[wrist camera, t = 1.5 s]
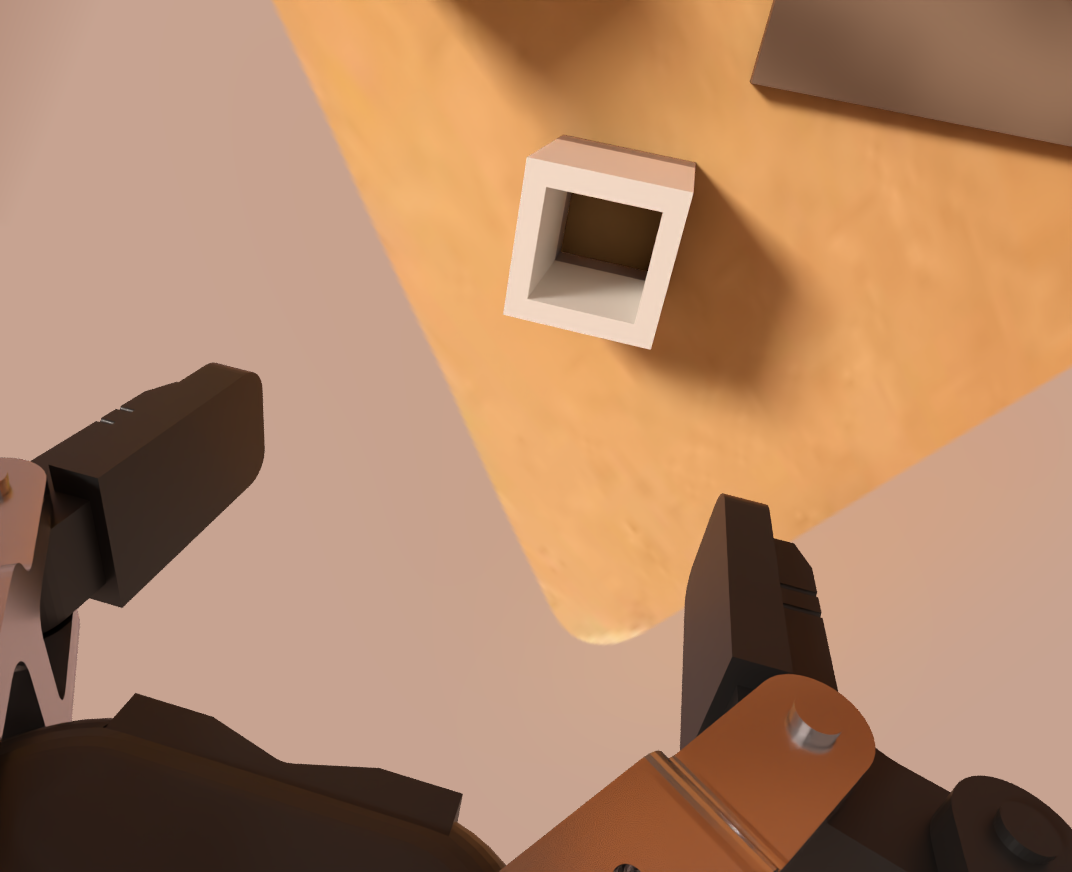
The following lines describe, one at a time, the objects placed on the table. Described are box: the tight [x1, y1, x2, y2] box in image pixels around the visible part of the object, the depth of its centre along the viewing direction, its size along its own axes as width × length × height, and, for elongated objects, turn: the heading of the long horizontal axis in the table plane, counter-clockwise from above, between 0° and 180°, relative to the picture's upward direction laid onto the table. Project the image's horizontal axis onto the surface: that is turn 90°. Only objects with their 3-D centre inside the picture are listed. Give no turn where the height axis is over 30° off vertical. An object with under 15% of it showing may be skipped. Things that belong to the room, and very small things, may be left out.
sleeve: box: [503, 135, 696, 350], centre depth 27 cm, size 6×6×7 cm
